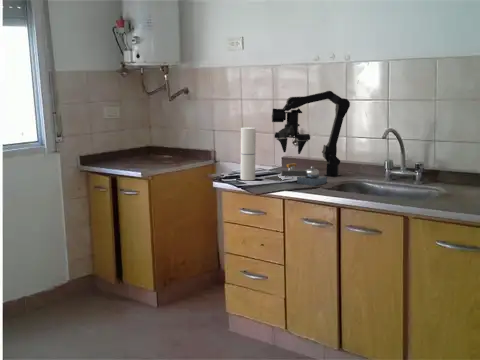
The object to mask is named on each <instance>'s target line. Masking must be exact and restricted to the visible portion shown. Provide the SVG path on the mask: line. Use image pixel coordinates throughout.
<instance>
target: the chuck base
mask: <svg viewBox="0 0 480 360" xmlns="http://www.w3.org/2000/svg"><path fill="white" fill-rule="evenodd" d="M327 179H328V176H325V175H319V177H306V176H296V183H297V184H300V185H307V186H313V187H317V186H321V185H324V184H328V183H327Z"/></svg>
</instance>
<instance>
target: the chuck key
mask: <svg viewBox="0 0 480 360" xmlns="http://www.w3.org/2000/svg"><path fill="white" fill-rule="evenodd" d="M295 167H297V163H296V162H295V163H288V164H287V163H286V168H287V169H288V170H295Z"/></svg>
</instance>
